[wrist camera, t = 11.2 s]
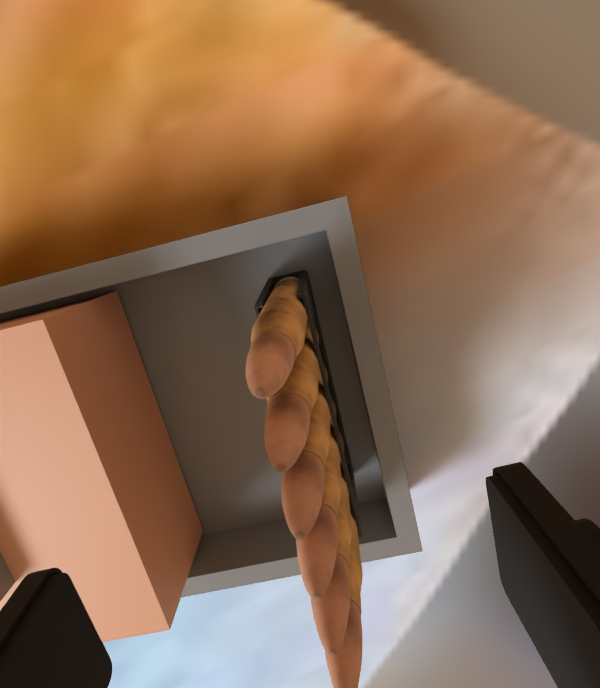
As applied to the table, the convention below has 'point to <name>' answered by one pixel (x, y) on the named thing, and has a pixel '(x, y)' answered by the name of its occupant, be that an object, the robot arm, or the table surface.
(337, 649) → the ammunition clip
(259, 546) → the grey shallow rimmed piece
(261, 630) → the table surface
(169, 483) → the slider
